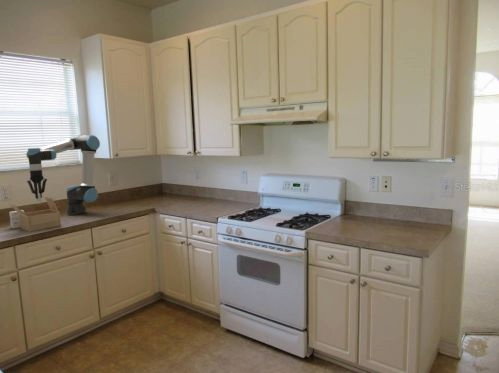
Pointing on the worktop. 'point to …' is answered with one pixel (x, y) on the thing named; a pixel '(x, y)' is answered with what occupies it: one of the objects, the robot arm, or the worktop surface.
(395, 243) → the worktop surface
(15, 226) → the ink box
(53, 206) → the flap
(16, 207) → the flap
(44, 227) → the carton
